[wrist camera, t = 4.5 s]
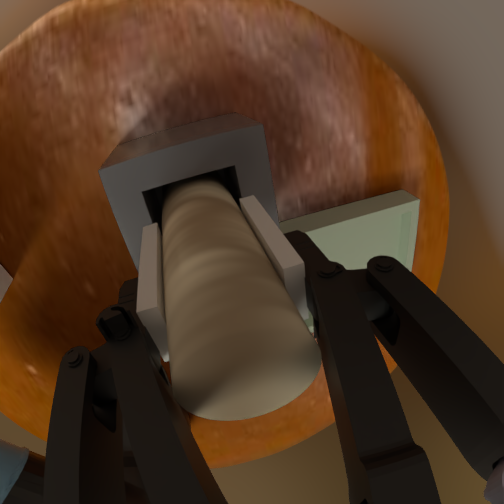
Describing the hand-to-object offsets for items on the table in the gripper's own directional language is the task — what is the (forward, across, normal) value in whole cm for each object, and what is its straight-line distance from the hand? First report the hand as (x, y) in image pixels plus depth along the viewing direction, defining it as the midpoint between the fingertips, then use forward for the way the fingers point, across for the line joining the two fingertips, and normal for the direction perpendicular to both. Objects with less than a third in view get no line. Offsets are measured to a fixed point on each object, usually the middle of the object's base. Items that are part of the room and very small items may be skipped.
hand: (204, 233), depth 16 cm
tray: (+9, +11, -12) cm, 18 cm away
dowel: (+8, 0, 0) cm, 8 cm away
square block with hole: (+9, 0, 0) cm, 9 cm away
